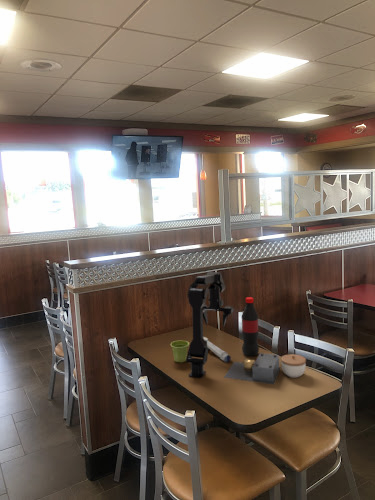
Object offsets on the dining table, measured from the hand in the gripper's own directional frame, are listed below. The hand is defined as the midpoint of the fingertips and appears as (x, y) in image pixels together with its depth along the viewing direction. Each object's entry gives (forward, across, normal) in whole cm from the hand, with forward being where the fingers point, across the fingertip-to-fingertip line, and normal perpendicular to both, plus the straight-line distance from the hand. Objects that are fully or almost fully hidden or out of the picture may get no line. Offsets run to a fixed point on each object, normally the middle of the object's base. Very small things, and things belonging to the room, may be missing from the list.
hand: (215, 325), depth 205 cm
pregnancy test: (+15, 0, +3) cm, 15 cm away
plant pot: (+15, +14, +15) cm, 26 cm away
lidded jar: (+15, -42, +16) cm, 47 cm away
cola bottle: (+15, -18, -2) cm, 23 cm away
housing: (+14, -30, +19) cm, 38 cm away
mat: (+15, -24, +19) cm, 34 cm away
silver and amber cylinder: (+14, -25, +19) cm, 34 cm away
